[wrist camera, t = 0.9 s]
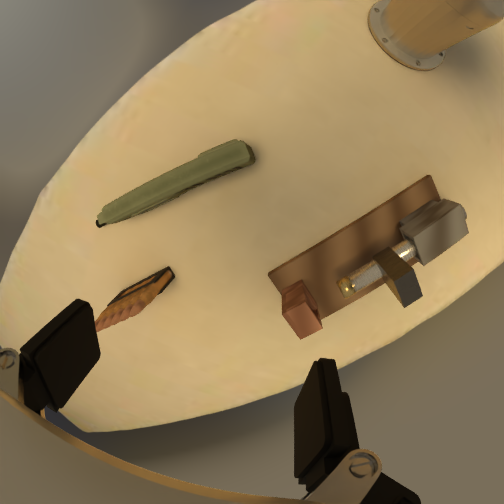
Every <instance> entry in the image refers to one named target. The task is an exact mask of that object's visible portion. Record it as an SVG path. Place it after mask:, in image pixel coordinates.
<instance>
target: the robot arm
mask: <svg viewBox="0 0 504 504" xmlns="http://www.w3.org/2000/svg"><path fill="white" fill-rule="evenodd" d="M503 17H504V0H380V1H378V2H377V3H375V4H374V5H373V6H372V8H371V9H370V12H369V14H368V23H369V27H370V30H371V33H372V35H373V36H374V38H375V40H376V41H377V42H378V44H379V45H380V46H381V47H382V49H383V50H384V51H385V52H386V53H388V54H389V55H390V56H391V57H392V58H394V59H395V60H397V61H398V62H399V63H401V64H403V65H405V66H407V67H410V68H413V69H416V70H430V69H434V68H435V67H438V66H439V65H440V64H441V63H442V62H443V60H444V57H445V49H447V48H449V47H451V46H453V45H455V44H457V43H458V42H460V41H462V40H464V39H466V38H468V37H470V36H472V35H474V34H476V33H478V32H480V31H482V30H484V29H486V28H488V27H491V26H493V25H495V24H497V23H499V22H500V21H501V20H502V19H503ZM20 351H21V353H20V354H18V352H17V351H16V350H14V349H12V348H3V349H1V350H0V504H421V501H420V498H419V497H418V495H417V494H415V493H414V492H413V491H411V490H409V489H407V488H406V487H404V486H403V485H401V484H399V483H398V482H396V481H395V480H393V479H391V478H390V477H388V476H386V475H385V474H384V473H382V472H381V470H382V463H381V460H380V458H379V457H378V456H377V455H376V454H375V453H374V452H372V451H370V450H367V449H360V448H359V443H358V438H357V433H356V428H355V422H354V417H353V413H352V408H351V403H350V398H349V396H348V394H347V393H346V392H342V391H341V386H340V381H339V376H338V371H337V367H336V362H335V360H334V359H326V358H320V359H319V360H318V361H314V362H313V365H312V367H311V369H310V372H309V374H308V376H307V378H306V381H305V383H304V385H303V387H302V390H301V392H300V394H299V396H298V398H297V400H296V402H295V406H294V476H295V478H299V484H306V490H307V491H308V493H307V494H306V495H305V496H304V497H302V498H301V499H300V500H299V499H287V498H278V497H267V496H258V495H250V494H243V493H237V492H231V491H225V490H219V489H214V488H210V487H205V486H201V485H196V484H192V483H189V482H185V481H181V480H178V479H174V478H171V477H167V476H164V475H161V474H158V473H155V472H152V471H149V470H146V469H144V468H141V467H138V466H135V465H133V464H130V463H128V462H126V461H123V460H121V459H118V458H116V457H114V456H112V455H109V454H107V453H105V452H103V451H101V450H99V449H96V448H94V447H93V446H91V445H89V444H87V443H85V442H83V441H81V440H79V439H77V438H76V437H74V436H72V435H70V434H68V433H67V432H65V431H63V430H62V429H60V428H58V427H57V426H55V425H54V424H52V423H50V422H49V421H47V420H46V419H45V413H44V408H45V406H46V405H47V407H48V408H50V409H51V410H53V411H55V412H57V411H58V410H59V408H63V407H64V405H65V404H66V403H67V401H68V400H69V398H70V397H71V396H72V394H73V393H74V392H75V390H76V389H77V388H78V386H79V385H80V384H81V382H82V381H83V380H84V378H85V377H86V376H87V374H88V373H89V372H90V371H91V369H92V368H93V367H94V365H95V364H96V363H97V361H98V360H99V358H100V354H101V353H100V348H99V343H98V338H97V333H96V327H95V321H94V315H93V309H92V307H91V306H90V304H89V303H88V302H86V301H83V300H81V299H76V300H75V301H73V302H72V303H71V304H70V305H69V306H67V307H66V308H65V309H64V310H63V311H61V312H60V313H59V314H58V315H57V316H56V317H54V318H53V319H52V320H51V321H50V322H49V323H48V324H46V325H45V326H44V327H43V328H42V329H41V330H40V331H39V332H38V333H36V334H35V335H34V336H33V337H32V338H31V339H30V340H29V341H28V342H27V343H26V344H25V345H23V346H22V347H21V348H20Z"/></svg>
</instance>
